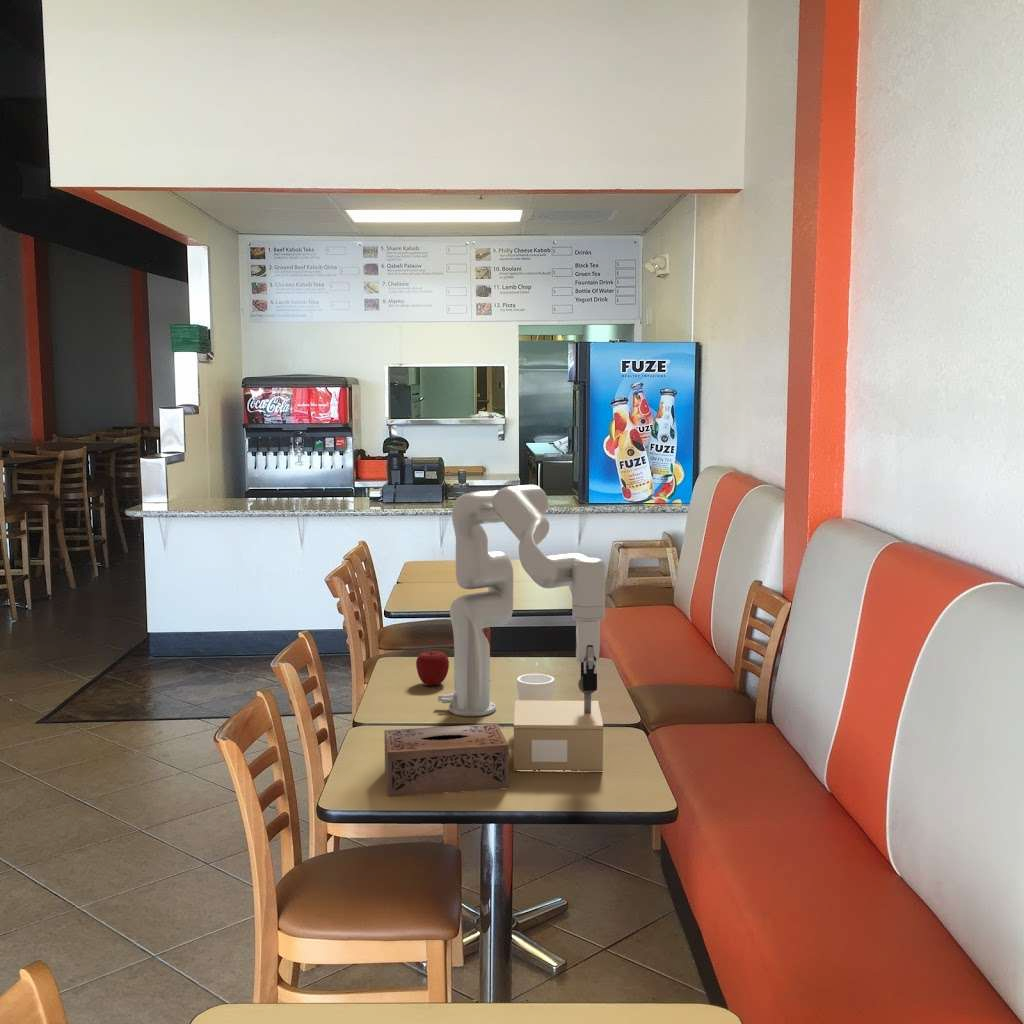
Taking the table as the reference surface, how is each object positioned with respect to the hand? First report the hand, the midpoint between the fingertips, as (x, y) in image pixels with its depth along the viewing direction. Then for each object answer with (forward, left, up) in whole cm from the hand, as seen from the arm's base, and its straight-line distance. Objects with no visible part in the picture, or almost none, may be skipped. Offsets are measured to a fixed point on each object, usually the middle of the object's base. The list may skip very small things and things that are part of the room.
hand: (588, 684), depth 236 cm
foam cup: (-12, +21, -18) cm, 30 cm away
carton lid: (-7, 0, -8) cm, 10 cm away
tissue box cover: (-32, -14, -18) cm, 40 cm away
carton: (-7, 0, -18) cm, 19 cm away
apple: (-42, +60, -18) cm, 76 cm away
